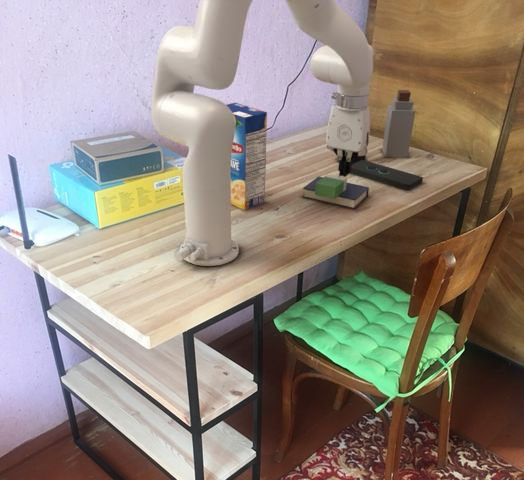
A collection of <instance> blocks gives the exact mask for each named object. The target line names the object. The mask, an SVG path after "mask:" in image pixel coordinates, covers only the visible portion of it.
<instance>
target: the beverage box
mask: <svg viewBox="0 0 524 480" xmlns="http://www.w3.org/2000/svg"><path fill="white" fill-rule="evenodd" d="M226 105H227V106H228V107H229V109H230V110H231V111H232V113H233V115H234V118H235V135H234V140H233V146H232V152H231V170H230V176H231V206H232V205H233V206H235V207H237V208H239V209H241V210H244V211H246V210H249V209H251V208H254V207H258V206H260V205H262V204H265V203H266V202H265V201H266V200H265V199H266V165H267V163H266V161H267V159H266V158H267V130H268V129H267V127H268V125H267V123H268V122H267V121H268V112H267V111H264V110H261V109H258V108H254V107H251V106H248V105H244V104H241V103H238V102H231V103H228V104H226Z"/></svg>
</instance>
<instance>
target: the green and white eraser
mask: <svg viewBox="0 0 524 480" xmlns="http://www.w3.org/2000/svg"><path fill="white" fill-rule="evenodd" d="M322 177H323V176H322ZM346 183H348V178H347V177H343V176H339V175H333V174H326V175H324V177H323V178H322V179H321V180H319V181H318V182H317V183H316V187H315V195H319V196H323V197H327V198H332V199H335V198H337V197H338V196H339V195H340V194H341V193H342V192H344V191H345V190H346Z"/></svg>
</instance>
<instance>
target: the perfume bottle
mask: <svg viewBox="0 0 524 480" xmlns="http://www.w3.org/2000/svg"><path fill="white" fill-rule="evenodd" d="M411 94H412V93H411V91H410V90H409V89H397V96H392V98H391V100H392V104H388V105H387V111H386V119H385V127H384V132H383V133H384V134H383V141H382V147H381V151H382V153H383V155H384V157H385V158H406V159H407V158H408V157H409V152H410V146H411V140H412V133H413V128H414V123H415V117H416V110H415V109H414V107H413V106H414V104H415V101H414V100H413V99H412V98H411Z"/></svg>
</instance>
